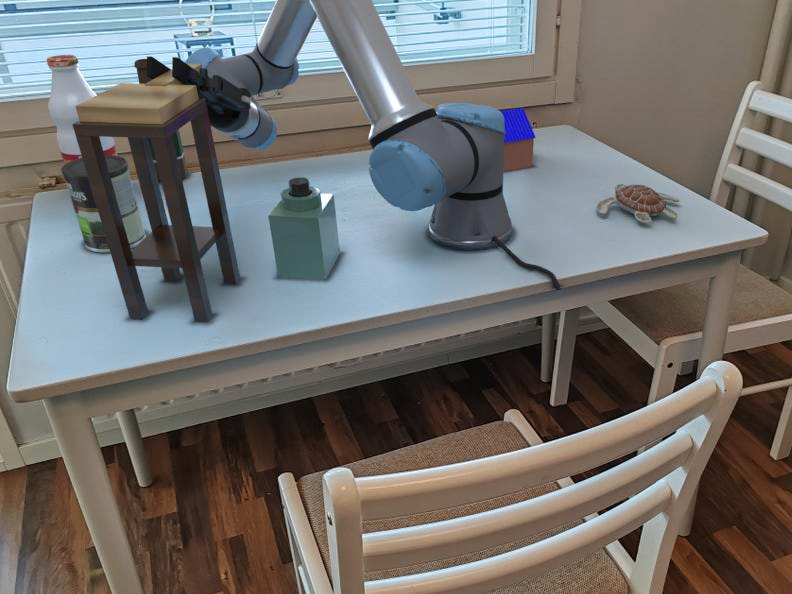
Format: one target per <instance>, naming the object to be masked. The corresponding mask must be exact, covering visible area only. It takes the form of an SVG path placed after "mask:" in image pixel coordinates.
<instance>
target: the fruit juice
mask: <svg viewBox="0 0 792 594" xmlns="http://www.w3.org/2000/svg"><path fill="white" fill-rule="evenodd" d="M46 64H47V66H48V68H49V70H50V71H51V84H50V85H51V87H50V96H49V99H48V103H47V109H48V113H49V116H50V118H51V120H52V121H53V123H54V125H55V126H56V141H57V145H58V149H59V151H60V154H61V157H62V161H63V164H64V165H65V164H67V163H69V162H71V161H73V160H76V159H79V158H82V155H81V152H80V149H79V145H78V142H77V139H76V135H75V132H74V129H73V125H72V124H74V123H75V122H77V121H79V117H78V114H77V110H76V107H75V106H77V105H79V104H81V103H83V102H85V101H87V100H89V99H90V98H92V97H94V96H96V95H97V93H95V91H94V90H92V88H91V86H90V85H89V84H88V82H87V81H86V79H85V78H84V76H83V74H82V73H81V71H80V70H79V67H80V64H79V59H78V57H77V56H76V55H74V54H59V55H58V54H57V55H53V56H49V57H47V58H46ZM99 137H100V141H101V145H102V148H103V152H104V155H113V156H118V152H117V148H116V144H115V140H114V137H102V136H99Z"/></svg>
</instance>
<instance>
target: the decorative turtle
mask: <svg viewBox="0 0 792 594" xmlns="http://www.w3.org/2000/svg"><path fill="white" fill-rule="evenodd" d="M614 188H615V189H614V193H615V195H614V196H611V197H608V198H605V199H603V200H601V201H600V202H598V203H597V205H596V207H595V209H596V211H597V212H598V213H600V214H601V215H607V214H608V212H609V211H608V210H609V208H610V207H611V206H612V205H614V204H616V205H617V206H618V207H619V208H621V209H623V210H624V211H626V212H628V213H629V214H631V215H634V218H635V220H637V222H640V223H642V224H651V223H652V222H653V220H652V218H651V217H656V216H657V215H659V214H663V215H666V217H669V218H670V219H673V220H676V219H678V217H679V216H678V214H677V212H675V210H673V209H671V208H670V207H668V206H667V202H666V201H671V202H673V203H679V202H681V199H679V198H677V197H675V196H672V195H669V194H666V193H663V192H657V191H656V190H654V189H653V188H651V187H649V186H646V185H644V184H630V185H629V184H628V185H626V184H623V183H619V184H616V185H615V187H614Z"/></svg>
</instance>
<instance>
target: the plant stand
mask: <svg viewBox="0 0 792 594" xmlns="http://www.w3.org/2000/svg"><path fill="white" fill-rule="evenodd" d="M188 123H190V125H191V130H192V135H193V140H194V145H195V150H196V154H197V160H198V164H199V169H200V173H201V178H202V183H203V189H204V193H205V198H206V202H207V207H208V211H209V216H210V217H209V218H210V222H211V226H200V225H199V226H198V225H193V221H192V218H191V213H190V208H189V204H188V201H187V200H188V199H187V195H186V191H185V185H184V182H183V179H182V177H181V173H180V168H179V164H178V159H177V155H176V150H175V146H174V141H173V137H172V134H173V133H174V132H175V131H177V130H178V129H179V130H180V129H181V128H182V127H184V126H185V125H187V124H188ZM72 125H73V129H74V132H75V135H76V139H77V142H78V145H79V149H80V152H81V155H82V159H83V162H84V166H85V169H86V172H87V176H88V179H89V182H90V186H91V189H92V192H93V196H94V199H95V203H96V206H97V209H98V213H99V216H100V219H101V223H102V226H103V229H104V233H105V236H106V239H107V243H108V246H109V250H110V253H109V254H110V256H111V259H112V263H113V266H114V269H115V270H114V271H115V273H116V276H117V279H118V283H119V287H120V289H121V294H122V296H123V300H124V303H125V307H126V311H127V313H128V317H129V319H130V320H144V319H145V318H146V317H147V316H148V314H149V309H148V305H147V302H146V299H145V295H144V292H143V288H142V285H141V280H140V276H139V273H138V270H137V267H144V268H161V272H162V273H161V274H162V277H163V280H164V282H169V283H171V282H172V283H178V281H179V280H180V279H181V277H182V274H183V278H184V283H185V287H186V290H187V296H188V299H189V303H190V307H191V312H192V316H193V319H194V322H195V323H209V322H210V321H211V319H212V317H214V316H213V311H212V306H211V301H210V298H209V293H208V289H207V283H206V280H205V276H204V271H203V266H202V263H201V260H202V258H203V257H204V256H205V255H206V254H207V253H208V252H209V251H210V249H211V248H212V247H213V246H214V245H216V250H217V255H218V261H219V265H220V269H221V270H220V271H221V275H222V279H223V284H224V285H234V286H235V285H237V284H238V283H239V282H240V281H241V275H240V271H239V266H238V265H239V264H238V260H237V255H236V250H235V244H234V239H233V234H232V230H231V223H230V219H229V214H228V209H227V203H226V197H225V193H224V187H223V183H222V177H221V172H220V168H219V162H218V158H217V152H216V147H215V142H214V136H213V131H212V126H211V125H210V120H209V115H208V110H207V105H206V99H205V98H199V100H198V101H196V102H195V103H193V104H192V105H190V106H189V107H187V108H186V109H184V110H183V111H181V112H180V113H179V114H177V115H176V116H174V117H173V118H171V119H170V120H168V121H167V122H165V123H164V124H132V123H101V122H80V121H77V122H75V123H74V124H72ZM99 136H102V137H113V138H127V140H128V144H129V148H130V152H131V153H130V154H131V156H132V160H133V164H134V168H135V172H136V175H137V180H138V184H139V187H140V191H141V195H142V198H143V202H144V207H145V210H146V211H145V212H146V214H147V218H148V222H149V226H150V230H151V232H150V233H149V234H148V235H146V238H145V239H144V240H142V241H141V242H140V243H139V244H138V245H137V246H136V247H133V248H130V245H129V241H128V238H127V234H126V230H125V227H124V223H123V220H122V216H121V212H120V209H119V205H118V202H117V198H116V195H115V191H114V187H113V184H112V180H111V177H110V173H109V170H108V166H107V162H106V159H105V155H104V152H103V148H102V145H101V141H100V137H99ZM148 138H151V142H152V146H153V150H154V154H155V158H156V162H157V166H158V171H159V175H160V179H161V182H158V179H157V175H156V171H155V166H154V162H153V158H152V154H151V150H150V146H149V142H148ZM160 183H161V188H162V191H163V195H164V200H163V197H162V191H161V188H160ZM164 201H165V203H166V208H167V212H166V208H165V204H164ZM167 213H168V216H169V220H170V223H169V220H168V217H167ZM181 270H182V274H181Z"/></svg>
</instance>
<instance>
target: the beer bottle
mask: <svg viewBox="0 0 792 594" xmlns="http://www.w3.org/2000/svg"><path fill="white" fill-rule="evenodd" d="M133 67H134V68H135V69H136V72H137V73H136V74H137V80H138V84H146V83H148V82H150V81H151V80H152V79H151V78H149V77H148V76H147V58H140V59H136V60H135V61H134V63H133ZM172 137H173V141H174V146H175V150H176V155H177V159H178V164H179V168H180V173H181V177H182V180H184V179H186V178H187V175H188V166H187V161H186V156H185V151H184V147H183V143H182V138H181V133H180V129H178V130H177V131H175V132H174V133H173V134H172ZM148 142H149V146H150V150H151V154H152V158H153V162H154V166H155V171H156V175H157V179H158V183H161V179H160V175H159V171H158V166H157V162H156V158H155V154H154V150H153V146H152V142H151V138H148Z"/></svg>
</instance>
